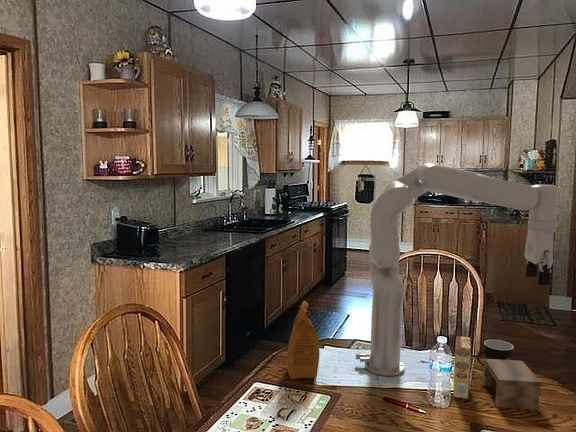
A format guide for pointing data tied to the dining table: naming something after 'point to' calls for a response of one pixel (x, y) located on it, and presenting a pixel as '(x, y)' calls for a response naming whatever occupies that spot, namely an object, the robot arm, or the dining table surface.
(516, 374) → the walnut shelf
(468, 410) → the dining table surface
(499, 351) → the coffee mug
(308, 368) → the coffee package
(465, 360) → the candy box
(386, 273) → the robot arm
